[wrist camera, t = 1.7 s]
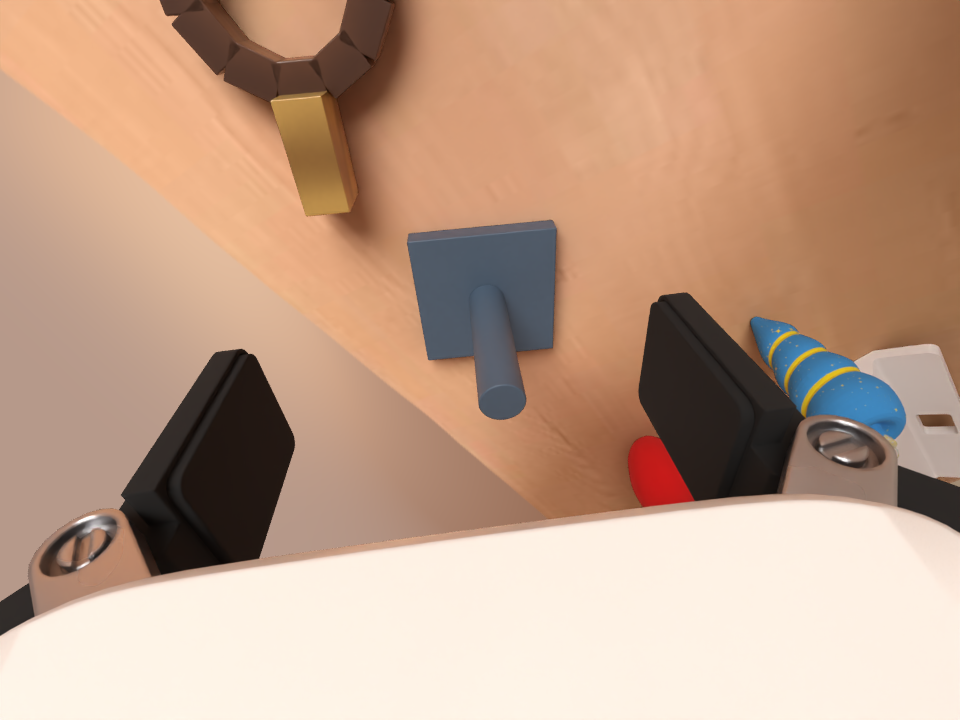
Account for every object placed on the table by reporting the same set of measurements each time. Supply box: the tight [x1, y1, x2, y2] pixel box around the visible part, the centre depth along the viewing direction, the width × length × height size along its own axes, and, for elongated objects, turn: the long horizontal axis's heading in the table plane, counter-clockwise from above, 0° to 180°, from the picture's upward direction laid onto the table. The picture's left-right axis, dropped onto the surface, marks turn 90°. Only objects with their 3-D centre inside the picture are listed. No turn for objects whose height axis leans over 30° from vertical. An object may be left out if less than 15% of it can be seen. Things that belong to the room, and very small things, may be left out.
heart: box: [628, 436, 695, 507], centre depth 42 cm, size 12×5×10 cm, turn 31°
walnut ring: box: [160, 0, 395, 216], centre depth 23 cm, size 16×11×4 cm, turn 4°
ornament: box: [750, 317, 906, 458], centre depth 32 cm, size 5×5×15 cm
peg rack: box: [407, 220, 557, 420], centre depth 30 cm, size 10×10×12 cm
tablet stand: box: [789, 344, 960, 479], centre depth 42 cm, size 18×25×17 cm
